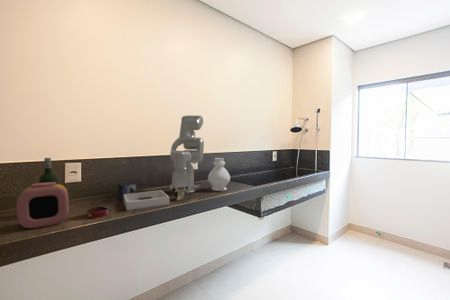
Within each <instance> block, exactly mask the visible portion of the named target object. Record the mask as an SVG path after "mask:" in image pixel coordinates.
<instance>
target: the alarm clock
mask: <svg viewBox="0 0 450 300" xmlns="http://www.w3.org/2000/svg"><path fill="white" fill-rule="evenodd" d="M16 199H17V200H16V214H17V215H16V217H17V221H18V224H19V225H21V227H22V228H25V229H37V228H43V227H49V226H55V225H58V224H60V223H62V222H63V221H65V220H66V218H67V217H68V216H69V212H70V206H69V205H70V203H69V191H68V189H67V187H65V185H63V184H61V183H58V184H56V182H46V183H39V182H37V183H32V184H31V185H30V186H27V187H25V188H24V189H22V191H21V193H20V194H19V196H18V197H17V198H16Z"/></svg>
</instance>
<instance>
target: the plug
mask: <svg viewBox="0 0 450 300" xmlns="http://www.w3.org/2000/svg"><path fill="white" fill-rule="evenodd" d="M177 192H178V198H176V197H175V199H176V200H177V201H183V200H185V197H184V188H181V187H179V188H178V189H177Z"/></svg>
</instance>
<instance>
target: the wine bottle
mask: <svg viewBox="0 0 450 300" xmlns="http://www.w3.org/2000/svg"><path fill="white" fill-rule="evenodd" d="M43 160H44V173H43V174H42V175H41V176H40V177H39V178H38V183H46V182H56V184H59V182H58V180H59V179H58V176H57V175H56V174H54V173H53V171H52V158H51V157H44V159H43Z"/></svg>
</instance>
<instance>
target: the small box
mask: <svg viewBox="0 0 450 300" xmlns="http://www.w3.org/2000/svg"><path fill="white" fill-rule="evenodd" d="M131 193H137V182H135V181H124V182H118V183H117V199H118V200H120V201H124V200H123V199H124V194H131Z"/></svg>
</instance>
